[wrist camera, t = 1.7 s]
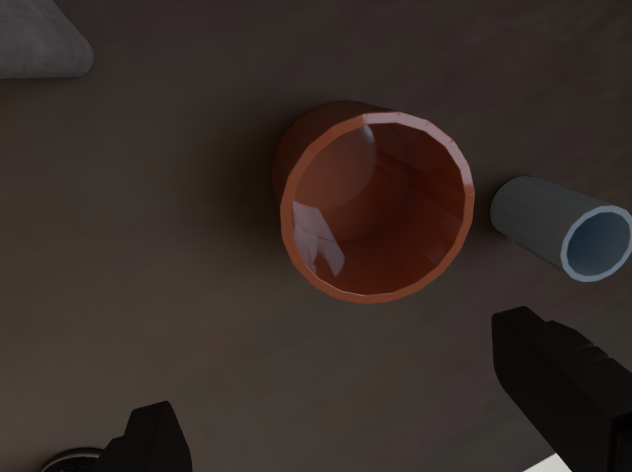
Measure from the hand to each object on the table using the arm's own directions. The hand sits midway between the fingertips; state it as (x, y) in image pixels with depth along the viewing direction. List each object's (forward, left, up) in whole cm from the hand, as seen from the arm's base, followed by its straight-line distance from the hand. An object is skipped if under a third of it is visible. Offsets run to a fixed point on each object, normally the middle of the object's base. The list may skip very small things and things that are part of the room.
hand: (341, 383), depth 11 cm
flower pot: (-1, -6, -28) cm, 29 cm away
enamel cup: (-5, -23, -28) cm, 37 cm away
